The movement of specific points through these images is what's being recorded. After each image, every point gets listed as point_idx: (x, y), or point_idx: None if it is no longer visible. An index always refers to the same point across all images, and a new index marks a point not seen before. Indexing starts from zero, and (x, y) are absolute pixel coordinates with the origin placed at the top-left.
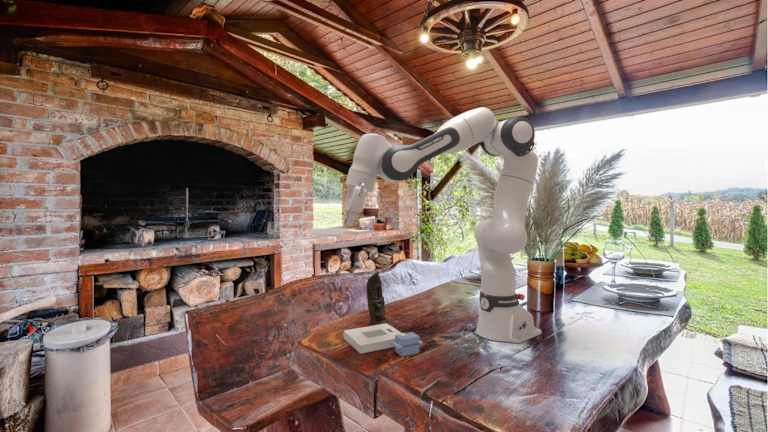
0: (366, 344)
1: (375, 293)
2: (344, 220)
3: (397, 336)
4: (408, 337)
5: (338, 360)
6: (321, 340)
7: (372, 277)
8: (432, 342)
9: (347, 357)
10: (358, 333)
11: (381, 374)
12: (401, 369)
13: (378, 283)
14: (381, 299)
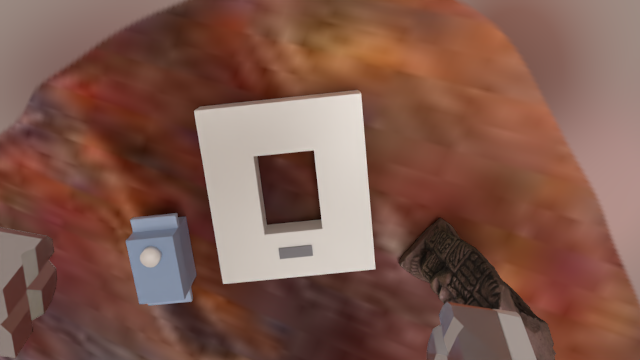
0: (198, 134)
1: (459, 295)
2: (526, 347)
3: (158, 238)
4: (138, 268)
5: (171, 23)
6: (367, 4)
7: None
8: (217, 346)
9: (185, 58)
10: (308, 138)
11: (41, 121)
12: (59, 186)
13: None
14: None
